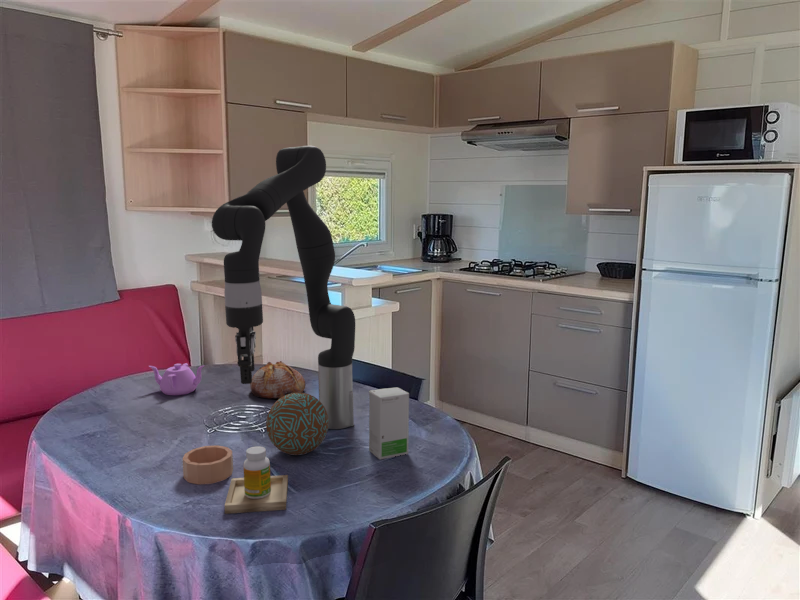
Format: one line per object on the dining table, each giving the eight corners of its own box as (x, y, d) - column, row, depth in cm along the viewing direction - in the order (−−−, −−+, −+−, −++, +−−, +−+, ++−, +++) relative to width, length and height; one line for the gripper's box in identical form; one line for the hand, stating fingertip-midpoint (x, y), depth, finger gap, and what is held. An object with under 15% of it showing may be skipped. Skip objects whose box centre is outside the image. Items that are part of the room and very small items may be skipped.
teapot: (206, 391, 201) (205, 364, 199) (163, 400, 192) (161, 372, 191) (192, 382, 210) (190, 356, 208) (150, 390, 201) (148, 364, 200)
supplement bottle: (264, 501, 128) (262, 456, 127) (240, 498, 129) (238, 454, 128) (275, 488, 134) (273, 445, 132) (251, 486, 135) (249, 443, 133)
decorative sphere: (339, 456, 152) (338, 397, 149) (281, 471, 144) (278, 408, 141) (313, 436, 164) (312, 381, 162) (258, 448, 156) (256, 390, 154)
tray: (288, 482, 138) (287, 474, 138) (286, 509, 127) (285, 501, 126) (232, 486, 137) (231, 478, 136) (224, 513, 125) (224, 505, 125)
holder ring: (235, 462, 148) (234, 444, 148) (229, 482, 138) (228, 463, 137) (189, 465, 147) (188, 446, 146) (180, 485, 137) (178, 466, 136)
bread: (278, 383, 213) (279, 354, 212) (317, 395, 200) (317, 364, 199) (237, 391, 201) (237, 360, 200) (275, 405, 188) (275, 372, 187)
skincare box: (379, 460, 149) (378, 398, 147) (367, 450, 155) (367, 390, 152) (410, 454, 153) (410, 392, 151) (397, 444, 159) (397, 385, 156)
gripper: (260, 308, 124) (264, 386, 127) (263, 295, 138) (267, 366, 141) (221, 310, 123) (226, 389, 126) (228, 297, 137) (233, 368, 140)
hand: (248, 377), depth 134 cm, fingers open, 8 cm apart
